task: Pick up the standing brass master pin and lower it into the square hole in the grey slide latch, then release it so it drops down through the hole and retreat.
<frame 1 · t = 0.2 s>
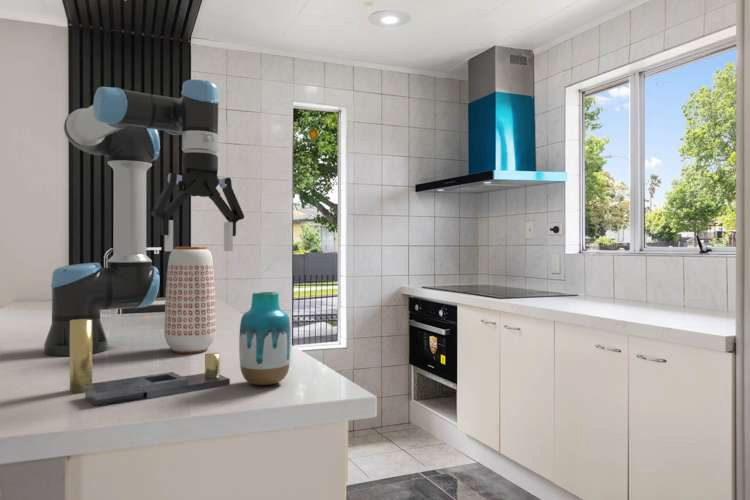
hand: (199, 251, 126), 28 cm above the counter, fingers open, 13 cm apart
vase 2: (190, 351, 158), on the counter
grey slide latch: (160, 390, 115), on the counter
vase: (264, 384, 122), on the counter
master pin: (81, 390, 115), on the counter
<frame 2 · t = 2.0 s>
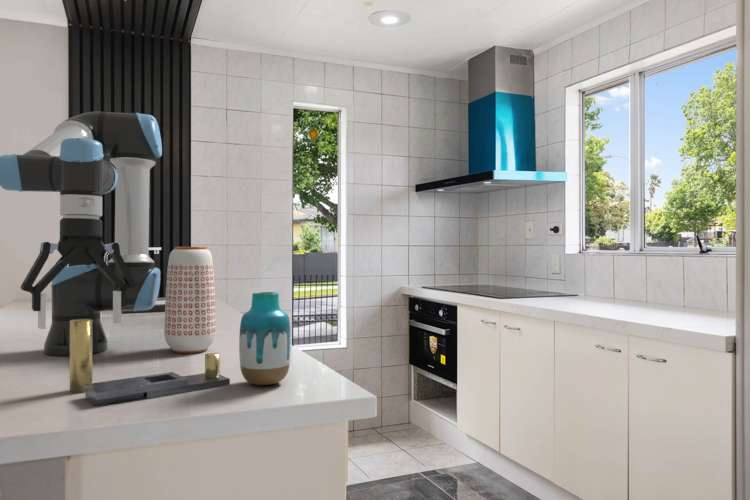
hand: (80, 325, 114), 13 cm above the counter, fingers open, 13 cm apart
nothing on the counter moved.
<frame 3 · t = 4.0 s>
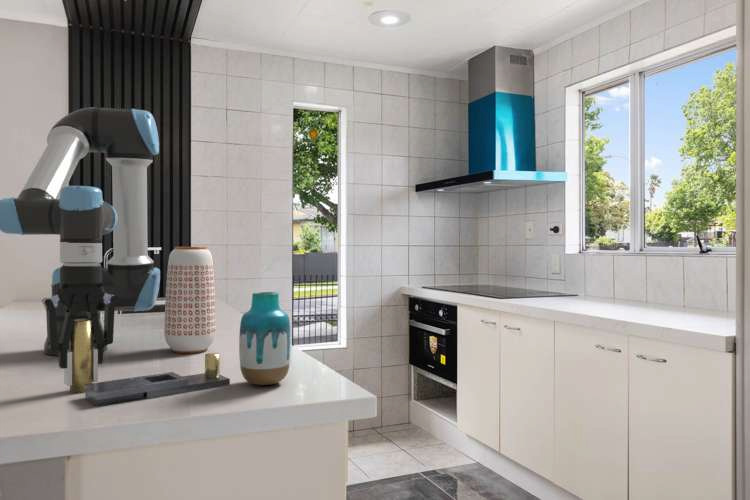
hand: (81, 382, 115), 2 cm above the counter, fingers closed on master pin, 4 cm apart
master pin: (81, 390, 115), on the counter, touching gripper
everything else where it was.
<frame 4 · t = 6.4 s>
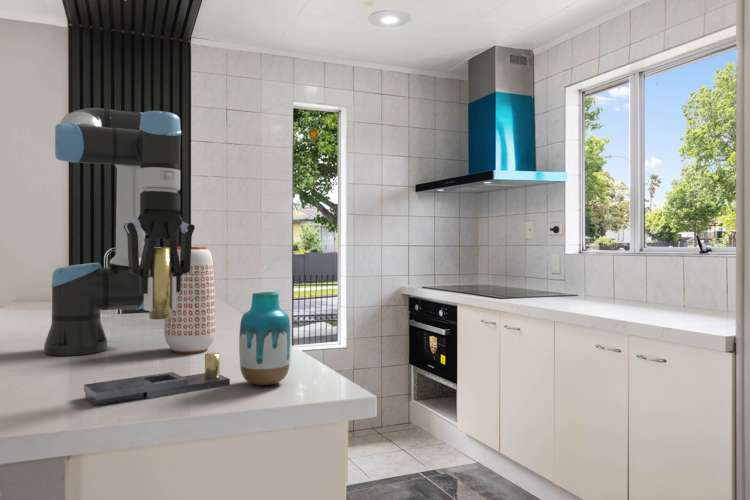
hand: (160, 309, 115), 16 cm above the counter, fingers closed on master pin, 4 cm apart
master pin: (160, 318, 115), point 15 cm above the counter, touching gripper
everything else where it was.
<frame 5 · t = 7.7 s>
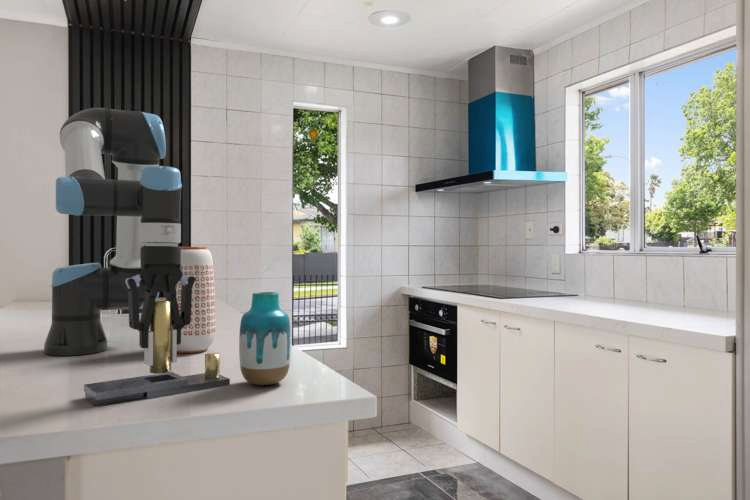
hand: (160, 362, 115), 6 cm above the counter, fingers closed on master pin, 4 cm apart
master pin: (160, 371, 115), point 4 cm above the counter, touching gripper
everything else where it was.
when the fingers open (4 cm above the counter, at t = 8.7 s): master pin drops 2 cm, resting in grey slide latch.
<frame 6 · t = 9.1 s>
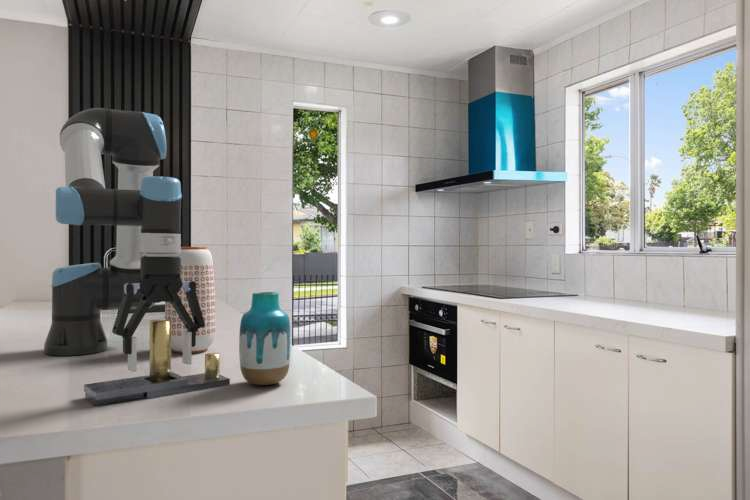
hand: (160, 366, 115), 5 cm above the counter, fingers open, 10 cm apart
master pin: (160, 390, 115), resting in grey slide latch
everything else where it was.
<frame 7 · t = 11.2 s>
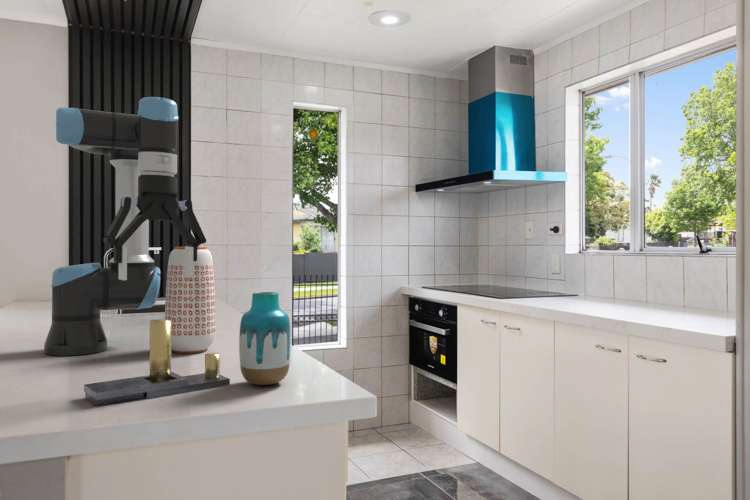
hand: (156, 278, 120), 22 cm above the counter, fingers open, 13 cm apart
nothing on the counter moved.
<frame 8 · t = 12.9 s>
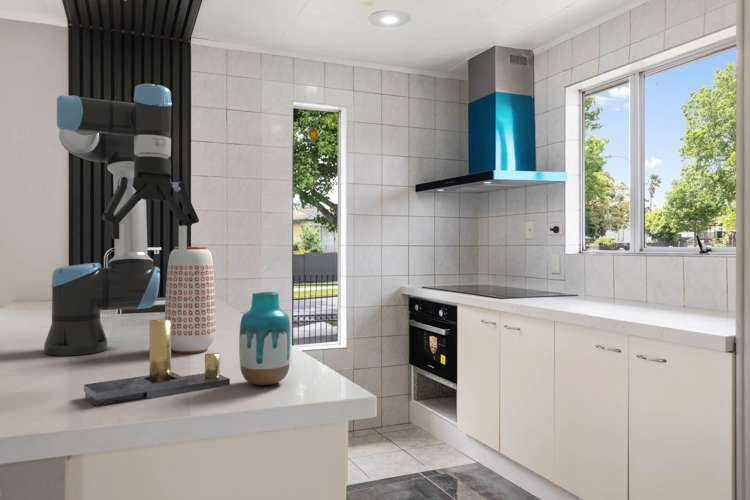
hand: (152, 255, 127), 27 cm above the counter, fingers open, 13 cm apart
nothing on the counter moved.
at the end: master pin 0.0 cm off-centre on the grey slide latch, point 0.0 cm above the grey slide latch's base; master pin tilted 0°; the gripper is holding nothing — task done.
